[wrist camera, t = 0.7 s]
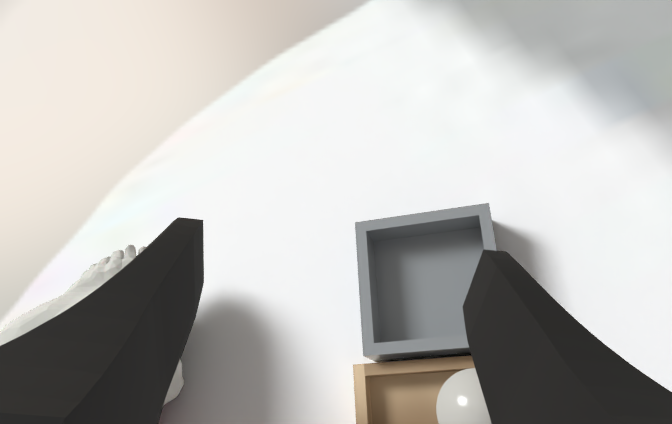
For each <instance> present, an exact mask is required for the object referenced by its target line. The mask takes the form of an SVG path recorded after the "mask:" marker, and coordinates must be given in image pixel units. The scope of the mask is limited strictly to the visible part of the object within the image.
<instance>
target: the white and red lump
mask: <svg viewBox="0 0 672 424" xmlns="http://www.w3.org/2000/svg"><path fill="white" fill-rule="evenodd" d="M145 248H146V247H141V248H140V249H139V253H138V255H139V254H140V253H141V252H142V251H143V250H144V249H145ZM135 257H136V250H135V247H134V246H133V245H128V247H127V248H126V249H125V254H124V252H123V251H122V250H118V251H114V252H113V254H112V255H111V257H106V258H104V259H102V260H100V262H99V263H97V264H93V265H91V266H90V268H89V270H87V271H85V272H84V273H83V275H82V277H81V278H80V279H79V280H78V281H76V282H75V283H74V284H73V285H72V286H71V287H70V288H69V289H68V290H67V291H66V292H65V293H64V294H63V295H61V296H60V297H58V298H56V299H53V300H51V301H49V302H46V303H44V304H41V305H39V306H37V307H36V308H34V309H32V310H30V311H28V312H27V313H25V314H23V315H21V316H20V317H18V318H16V319H15V320H13V321H12V322H10V323H9V324H7V325H5V326H4V327H3V329H2V330H1V331H0V346H1V345H3V344H5V343H7V342H9V341H11V340H13V339H15V338H17V337H19V336H21V335H23V334H25V333H27V332H29V331H30V330H32V329H34V328H36V327H38V326H39V325H41V324H43V323H45V322H46V321H48V320H50V319H52V318H54V317H55V316H57V315H59V314H61V313H62V312H64V311H65V310H67V309H69V308H70V307H72V306H73V305H75V304H76V303H78V302H79V301H81V300H82V299H84V298H85V297H86V296H88V295H89V294H91V293H92V292H93V291H95V290H96V289H97V288H99V287H100V286H101V285H103V284H104V283H105V282H106V281H108V280H109V279H110V278H111V277H113V276H114V275H115V274H116V273H118V272H119V271H120V270H121V269H123V268H124V267H125V266H126V265H127V264H128V263H130V262H131V261H132V260H133V259H134V258H135ZM183 385H184V378H183V377H182V363H181V359H180V360H179V363H178V366H177V368H176V371H175V374H174V376H173V379H172V382H171V384H170V387H169V389H168V392H167V395H166V398H165V401H164V404H163V406H164V405H165V404H166V403H168V402H169V401H171V400H173V399H174V398H176V397H177V396H178V394H179V393H180V391H181V389H182V387H183ZM162 408H163V407H162Z"/></svg>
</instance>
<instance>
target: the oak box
mask: <svg viewBox="0 0 672 424" xmlns="http://www.w3.org/2000/svg"><path fill="white" fill-rule="evenodd" d="M470 368H475V366H474V362H473V359H472V356H460V357H447V358H434V359H421V360H408V361H395V362H382V363H370V364H357V365H353V372H354V391H355V409H356V424H439V423H438V419H437V414H436V404H437V398H438V395H439V392H440V390H441V388H442V386H443V385H444V383H445V382H446V381H447V380H448V379H449V378H450V377H451V376H452V375H454V374H455V373H457V372H459V371H461V370H465V369H470Z"/></svg>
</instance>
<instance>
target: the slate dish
mask: <svg viewBox="0 0 672 424" xmlns="http://www.w3.org/2000/svg"><path fill="white" fill-rule="evenodd" d="M355 228H356V245H357V261H358V277H359V294H360V310H361V326H362V342H363V356H365V357H367V358H369V359H371V360H373V361H379V360H392V359H404V358H417V357H430V356H443V355H455V354H468V353H471V352H470V348H469V345H468V341H467V335H466V329H465V322H464V314H463V304H464V301H465V299H466V296H467V293H468V290H469V287H470V285H471V282H472V279H473V276H474V274H475V271H476V268H477V265H478V263H479V260H480V257H481V254H482V252H483V249H485V250H495V251H497V249H496V243H495V237H494V231H493V225H492V219H491V213H490V207H489V203H486V204H479V205H472V206H465V207H458V208H451V209H445V210H438V211H431V212H424V213H417V214H410V215H403V216H397V217H390V218H383V219H376V220H369V221H362V222H356V223H355Z"/></svg>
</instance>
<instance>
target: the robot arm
mask: <svg viewBox="0 0 672 424" xmlns="http://www.w3.org/2000/svg"><path fill="white" fill-rule="evenodd" d="M203 283H204V264H203V220H197V219H188V218H177V219H176V220H174V221H173V222H172V223H171V224H170V225H169V226H168V227H167V228H166V229H165V230H164V231H163V232H162V233H161V234H160V235H159V236H158V237H157V238H156V239H155V240H154V241H153V242H152V243H151V244H150V245H149V246H147V247H146V248H145V249H144V250H143V251H142V252H141V253H140V254H139V255H137V256H136V257H135V258H134V259H133V260H132V261H131V262H130V263H128V264H127V265H126V266H125V267H124V268H123V269H121V270H120V271H119V272H118V273H116V274H115V275H114V276H113V277H111V278H110V279H109V280H108V281H106V282H105V283H104V284H103V285H101V286H100V287H99V288H97V289H96V290H95V291H93V292H92V293H91V294H89V295H88V296H86V297H85V298H84V299H82V300H81V301H79V302H78V303H76V304H75V305H73V306H72V307H70V308H69V309H67V310H65V311H64V312H62V313H61V314H59V315H57V316H55V317H54V318H52V319H50V320H48V321H46V322H45V323H43V324H41V325H39V326H38V327H36V328H34V329H32V330H30V331H29V332H27V333H25V334H23V335H21V336H19V337H17V338H15V339H13V340H11V341H9V342H7V343H5V344H3V345H1V346H0V424H158V422H159V418H160V414H161V411H162V407H163V404H164V401H165V398H166V395H167V392H168V389H169V387H170V384H171V382H172V379H173V376H174V374H175V371H176V368H177V366H178V363H179V360H180V358H181V355H182V352H183V350H184V347H185V344H186V342H187V339H188V336H189V333H190V331H191V328H192V325H193V323H194V320H195V317H196V313H197V309H198V305H199V301H200V296H201V292H202V287H203ZM463 314H464V322H465V329H466V335H467V341H468V345H469V348H470V352H471V355H472V359H473V362H474V366H475V369H476V373H477V376H478V379H479V383H480V386H481V389H482V393H483V396H484V399H485V403H486V406H487V409H488V413H489V416H490V420H491V424H672V392H670V391H669V390H667V389H666V388H664V387H663V386H661V385H660V384H658V383H657V382H655V381H654V380H652V379H651V378H649V377H648V376H646V375H645V374H643V373H642V372H641V371H639V370H638V369H636V368H635V367H633V366H632V365H631V364H629V363H628V362H627V361H625V360H624V359H623V358H621V357H620V356H619V355H618V354H616V353H615V352H614V351H612V350H611V349H610V348H608V347H607V346H606V345H605V344H603V343H602V342H601V341H600V340H599V339H597V338H596V337H595V336H594V335H593V334H591V333H590V332H589V331H588V330H587V329H586V328H585V327H583V326H582V325H581V324H580V323H579V322H578V321H577V320H576V319H574V318H573V317H572V316H571V315H570V314H569V313H568V312H567V311H566V310H565V309H564V308H563V307H562V306H561V305H560V304H559V303H557V302H556V301H555V300H554V299H553V298H552V297H551V296H550V295H549V294H548V293H547V292H546V291H545V290H544V289H543V288H542V287H541V286H540V285H539V284H538V283H537V282H536V281H535V280H534V279H533V278H532V277H531V276H530V274H529V273H528V272H527V271H526V270H525V269H524V268H523V267H522V266H521V265H520V264H519V263H518V262H517V261H516V260H515V259H514V258H512V257H511V256H510V255H509V254H508V253H507V252H504V251H495V250H485V249H483V252H482V254H481V257H480V260H479V263H478V265H477V268H476V271H475V274H474V276H473V279H472V282H471V285H470V287H469V290H468V293H467V296H466V299H465V301H464V304H463Z"/></svg>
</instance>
